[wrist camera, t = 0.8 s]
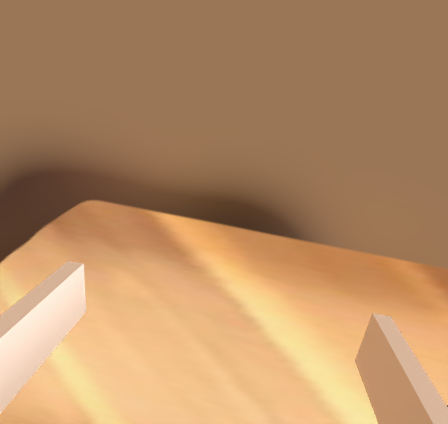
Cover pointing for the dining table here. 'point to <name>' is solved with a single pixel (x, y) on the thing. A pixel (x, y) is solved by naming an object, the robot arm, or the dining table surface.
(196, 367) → the dining table surface
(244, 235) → the dining table surface
